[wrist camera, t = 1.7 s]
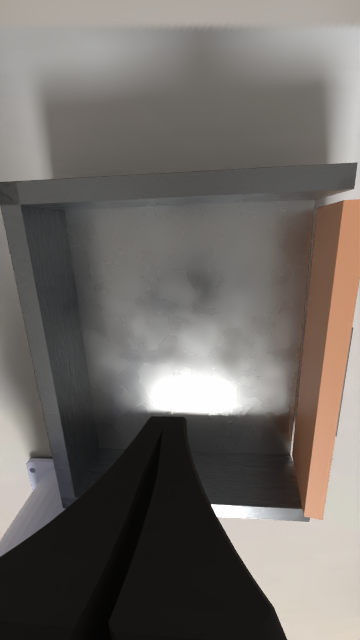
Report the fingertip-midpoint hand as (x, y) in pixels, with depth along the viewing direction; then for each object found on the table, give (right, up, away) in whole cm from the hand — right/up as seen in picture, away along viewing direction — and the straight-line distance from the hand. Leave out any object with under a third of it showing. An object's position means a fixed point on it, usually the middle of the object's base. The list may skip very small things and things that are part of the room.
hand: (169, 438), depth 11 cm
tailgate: (+9, +3, +8) cm, 12 cm away
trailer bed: (+1, +3, +10) cm, 11 cm away
